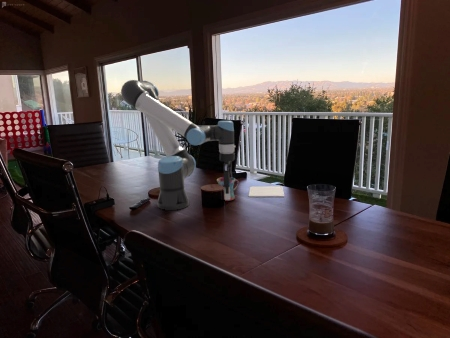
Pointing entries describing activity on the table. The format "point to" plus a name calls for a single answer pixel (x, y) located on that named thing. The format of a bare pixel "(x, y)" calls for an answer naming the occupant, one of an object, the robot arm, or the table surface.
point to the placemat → (266, 191)
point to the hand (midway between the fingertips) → (228, 196)
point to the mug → (221, 182)
